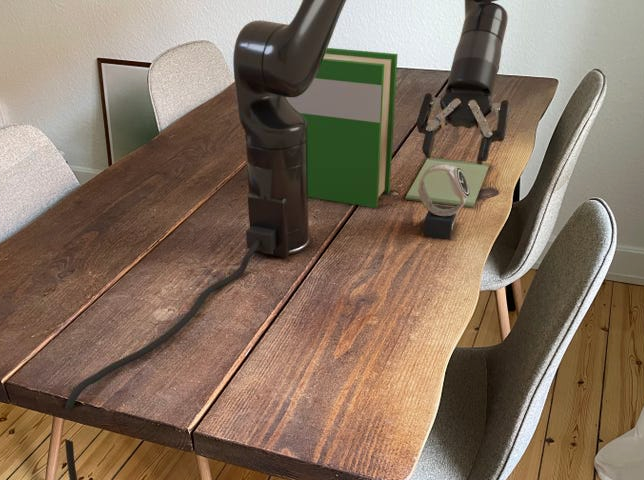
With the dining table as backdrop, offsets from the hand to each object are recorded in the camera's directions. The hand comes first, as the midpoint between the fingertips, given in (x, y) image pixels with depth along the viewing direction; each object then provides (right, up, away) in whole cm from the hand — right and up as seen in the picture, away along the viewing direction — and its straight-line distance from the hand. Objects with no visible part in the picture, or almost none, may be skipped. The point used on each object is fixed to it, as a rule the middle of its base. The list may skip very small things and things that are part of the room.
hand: (453, 159), depth 123 cm
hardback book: (-18, -2, +15) cm, 24 cm away
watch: (-2, -11, +2) cm, 12 cm away
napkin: (+3, 0, +18) cm, 18 cm away
